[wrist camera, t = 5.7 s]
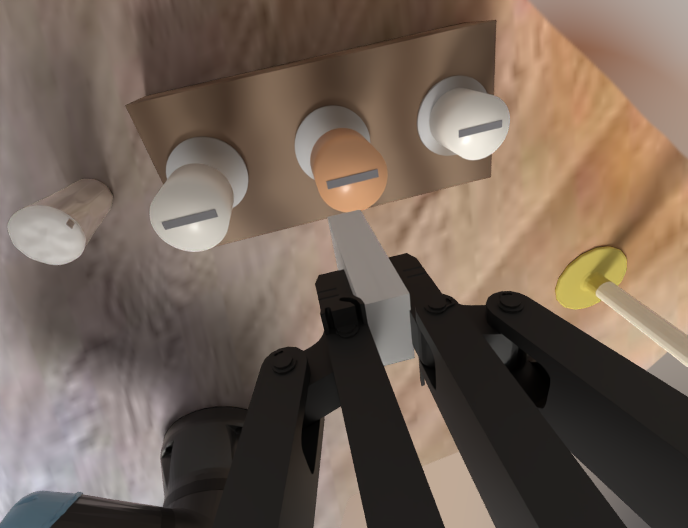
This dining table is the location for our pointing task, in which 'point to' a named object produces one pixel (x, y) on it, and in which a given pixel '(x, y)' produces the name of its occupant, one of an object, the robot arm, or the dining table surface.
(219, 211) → the knob
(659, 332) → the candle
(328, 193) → the knob middle
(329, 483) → the dining table surface
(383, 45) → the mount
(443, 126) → the knob
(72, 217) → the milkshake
